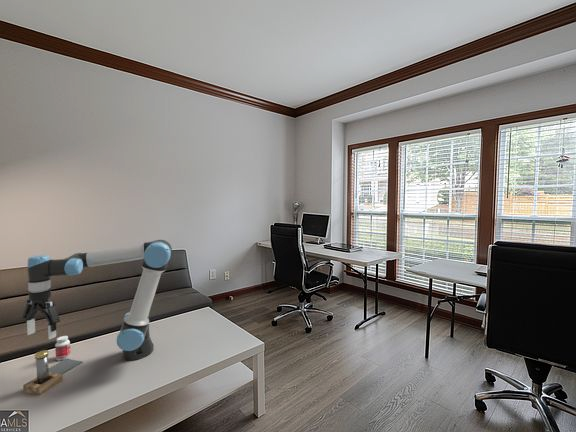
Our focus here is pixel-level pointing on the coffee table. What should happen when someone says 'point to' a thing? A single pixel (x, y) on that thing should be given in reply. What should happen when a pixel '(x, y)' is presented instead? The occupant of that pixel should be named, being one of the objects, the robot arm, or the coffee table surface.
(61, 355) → the pill bottle
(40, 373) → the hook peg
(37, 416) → the coffee table surface
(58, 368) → the rubber mat
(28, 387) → the block
